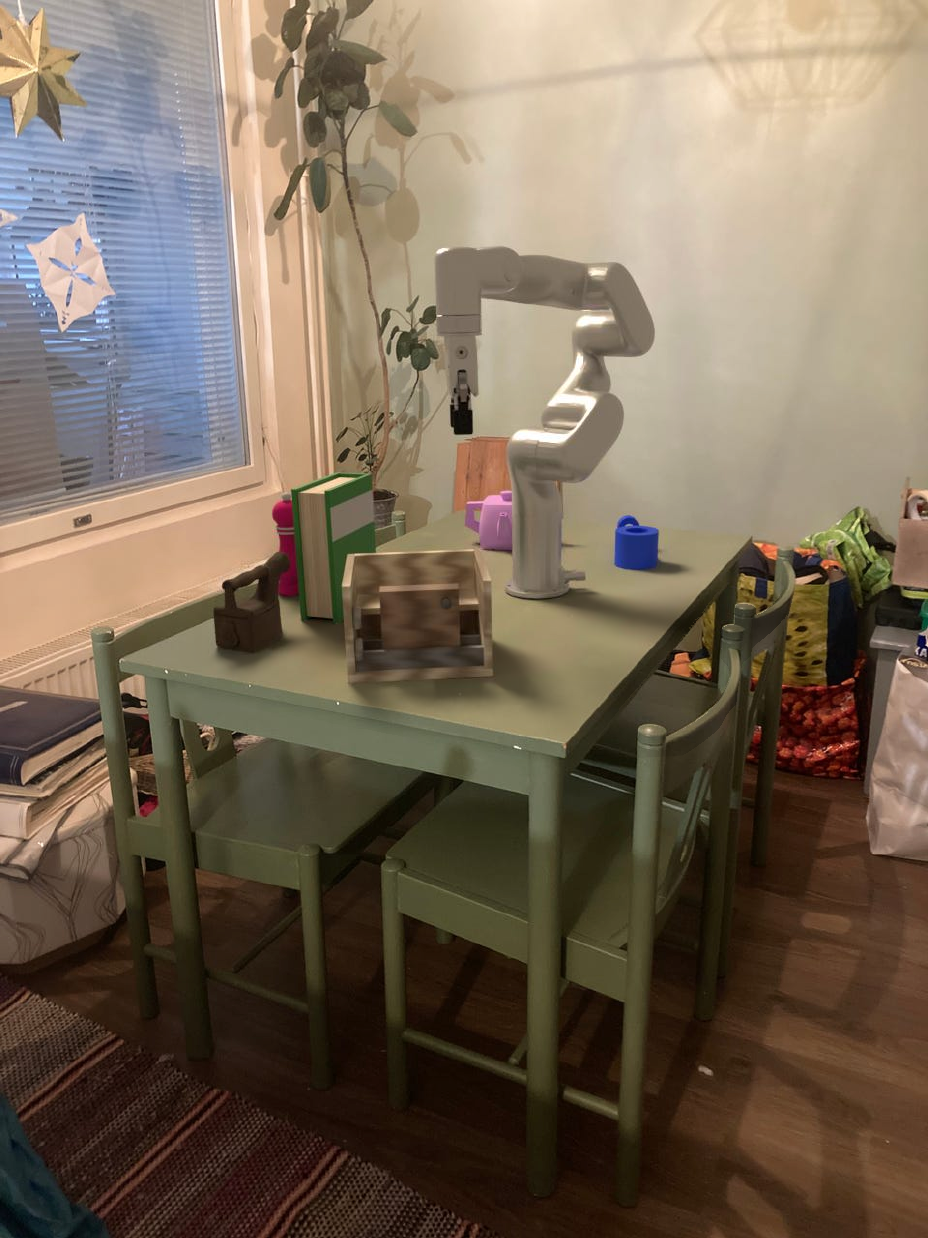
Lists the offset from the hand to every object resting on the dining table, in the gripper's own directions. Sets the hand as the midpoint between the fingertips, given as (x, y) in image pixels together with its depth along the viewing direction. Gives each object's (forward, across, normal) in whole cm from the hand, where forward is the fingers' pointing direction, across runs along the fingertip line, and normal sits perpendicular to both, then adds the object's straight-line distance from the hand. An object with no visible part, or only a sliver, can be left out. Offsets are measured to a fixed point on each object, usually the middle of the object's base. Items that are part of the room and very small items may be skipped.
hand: (461, 430), depth 168 cm
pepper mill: (+34, +20, +33) cm, 51 cm away
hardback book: (+34, +8, +23) cm, 41 cm away
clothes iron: (+34, -8, +36) cm, 50 cm away
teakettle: (+34, +53, -14) cm, 64 cm away
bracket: (+34, +36, -39) cm, 63 cm away
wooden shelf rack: (+33, -21, +9) cm, 40 cm away
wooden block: (+32, -26, +9) cm, 42 cm away
